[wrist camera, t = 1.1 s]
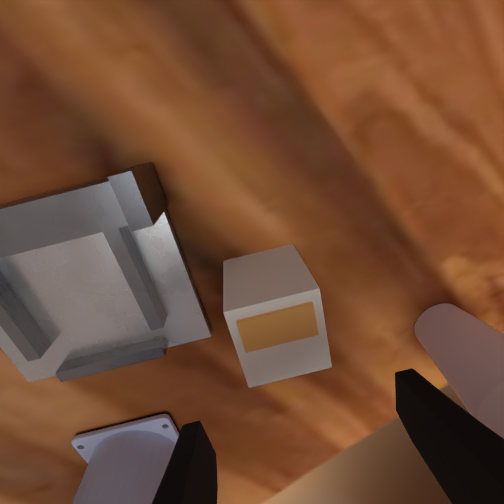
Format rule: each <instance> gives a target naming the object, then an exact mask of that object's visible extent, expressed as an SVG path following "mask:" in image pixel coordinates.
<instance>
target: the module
mask: <svg viewBox="0 0 504 504" xmlns="http://www.w3.org/2000/svg"><path fill="white" fill-rule="evenodd" d="M223 313H224V316H225V319H226V322H227V325H228V328H229V331H230V334H231V337H232V340H233V343H234V346H235V349H236V352H237V355H238V357H239V360H240V363H241V366H242V369H243V372H244V375H245V378H246V381H247V384H248V387H249V388H251V387H255V386H259V385H263V384H267V383H271V382H275V381H279V380H283V379H287V378H291V377H295V376H299V375H303V374H307V373H311V372H315V371H319V370H323V369H327V368H331V367H332V365H331V358H330V352H329V345H328V339H327V332H326V326H325V319H324V313H323V307H322V300H321V294H320V288H319V286H318V285H317V283H316V281H315V280H314V278H313V276H312V275H311V273H310V271H309V270H308V268H307V266H306V265H305V263H304V262H303V260H302V258H301V257H300V255H299V253H298V252H297V250H296V248H295V247H294V245H293V244H289V245H285V246H281V247H277V248H273V249H269V250H265V251H261V252H257V253H253V254H249V255H245V256H241V257H237V258H233V259H229V260H225V261H223Z"/></svg>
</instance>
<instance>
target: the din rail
mask: <svg viewBox="0 0 504 504" xmlns="http://www.w3.org/2000/svg"><path fill="white" fill-rule="evenodd" d="M167 207H168V206H167V203H166V200H165V198H164V195H163V192H162V189H161V187H160V184H159V181H158V179H157V176H156V173H155V171H154V168H153V165H152V162H149V163H145V164H142V165H138V166H134V167H131V168H128V169H126V170H123V171H121V172H119V173H116V174H114V175H111V176H109V177H105V178H101V179H97V180H94V181H90V182H86V183H82V184H78V185H74V186H70V187H66V188H62V189H58V190H55V191H51V192H47V193H43V194H39V195H35V196H31V197H27V198H23V199H20V200H16V201H12V202H8V203H4V204H0V347H1V349H2V350H3V351H4V352H5V354H6V355H7V356H8V357H9V359H10V360H11V361H12V362H13V364H14V365H15V366H16V367H17V369H18V370H19V371H20V372H21V374H22V375H23V376H24V377H25V379H26V380H27V381H28V382H32V381H36V380H40V379H44V378H48V377H52V376H56V375H57V377H58V378H59V379H60V381H61V382H63V381H67V380H71V379H75V378H79V377H83V376H87V375H91V374H95V373H99V372H103V371H107V370H111V369H115V368H119V367H123V366H127V365H131V364H135V363H139V362H143V361H147V360H151V359H155V358H159V357H163V356H165V354H166V350H167V348H168V347H172V346H176V345H180V344H184V343H188V342H192V341H196V340H200V339H204V338H208V337H211V332H212V331H211V328H210V325H209V323H208V320H207V317H206V315H205V312H204V309H203V307H202V304H201V301H200V299H199V296H198V293H197V291H196V288H195V285H194V283H193V280H192V277H191V274H190V272H189V269H188V266H187V264H186V261H185V258H184V256H183V253H182V250H181V248H180V245H179V242H178V240H177V237H176V234H175V232H174V229H173V226H172V224H171V221H170V218H169V216H168V213H167V210H166V208H167Z"/></svg>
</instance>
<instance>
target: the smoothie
mask: <svg viewBox="0 0 504 504" xmlns="http://www.w3.org/2000/svg"><path fill="white" fill-rule="evenodd" d="M414 333H415V336H416V337H417V339H418V340H419V342H420V343H421V344H422V346H423V347H424V349H425V350H426V352H427V353H428V354H429V356H430V357H431V359H432V360H433V361H434V363H435V364H436V366H437V367H438V369H439V370H440V371H441V373H442V374H443V376H444V377H445V379H446V380H447V381H448V383H449V384H450V386H451V387H452V388H453V390H454V391H455V392H456V394H457V395H458V397H459V398H460V400H461V401H462V403H463V404H464V405H465V407H466V408H467V410H468V411H469V413H470V414H471V415H472V416H473V417H475V418H476V419H477V420H479V421H480V422H481V423H483V424H484V425H485V426H487V427H488V428H490V429H491V430H492V431H494V432H495V433H496V434H498V435H499V436H501V437H502V438H503V439H504V334H503V333H502V332H500V331H498V330H497V329H495V328H493V327H491V326H490V325H488V324H486V323H484V322H483V321H481V320H479V319H477V318H476V317H474V316H472V315H470V314H469V313H467V312H465V311H463V310H462V309H460V308H458V307H457V306H455V305H453V304H448V303H442V304H437V305H434V306H432V307H430V308H428V309H427V310H425V311H424V312H423V313H422V314H421V315H420V316H419V317H418V319H417V321H416V323H415V326H414Z"/></svg>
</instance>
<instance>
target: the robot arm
mask: <svg viewBox="0 0 504 504" xmlns="http://www.w3.org/2000/svg"><path fill="white" fill-rule="evenodd" d="M395 386H396V411H397V413H398V415H399V417H400V419H401V421H402V423H403V425H404V427H405V429H406V430H407V432H408V434H409V436H410V438H411V440H412V442H413V443H414V445H415V447H416V448H417V449H418V451H419V453H420V454H421V456H422V458H423V459H424V461H425V462H426V464H427V465H428V467H429V468H430V470H431V472H432V473H433V474H434V476H435V478H436V479H437V481H438V482H439V484H440V485H441V487H442V489H443V490H444V492H445V493H446V495H447V496H448V498H449V499H450V501H451V502H452V504H504V439H503V438H502V437H501V436H499V435H498V434H496V433H495V432H494V431H492V430H491V429H490V428H488V427H487V426H485V425H484V424H483V423H481V422H480V421H479V420H477V419H476V418H475V417H473V416H472V415H471V414H469V413H468V412H467V411H465V410H464V409H463V408H461V407H460V406H459V405H457V404H456V403H455V402H454V401H452V400H451V399H450V398H449V397H447V396H446V395H445V394H443V393H442V392H441V391H440V390H438V389H437V388H436V387H435V386H433V385H432V384H431V383H430V382H429V381H427V380H426V379H425V378H424V377H422V376H421V375H420V374H419V373H418V372H416V371H415V370H414V369H408V370H404V371H400V372H396V373H395ZM71 444H72V445H73V447H74V448H75V449H76V450H77V451H78V453H79V454H80V455H81V456H82V458H83V459H84V460H85V461H86V462H87V464H88V466H87V468H86V470H85V473H84V475H83V478H82V480H81V483H80V485H79V488H78V490H77V493H76V495H75V498H74V500H73V502H72V504H217V464H216V453H215V451H214V449H213V447H212V445H211V443H210V441H209V438H208V436H207V434H206V432H205V430H204V428H203V426H202V424H201V422H200V421H197V422H193V423H189V424H185V425H183V426H182V428H181V431H180V434H179V432H178V431H177V429H176V427H175V425H174V423H173V421H172V420H171V418H170V416H169V415H167V414H160V415H156V416H152V417H148V418H144V419H140V420H136V421H132V422H128V423H124V424H120V425H116V426H112V427H108V428H104V429H100V430H96V431H92V432H88V433H84V434H80V435H76V436H74V437H73V439H72V441H71Z"/></svg>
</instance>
